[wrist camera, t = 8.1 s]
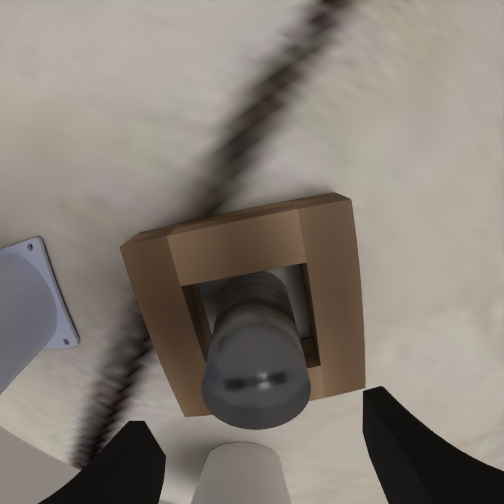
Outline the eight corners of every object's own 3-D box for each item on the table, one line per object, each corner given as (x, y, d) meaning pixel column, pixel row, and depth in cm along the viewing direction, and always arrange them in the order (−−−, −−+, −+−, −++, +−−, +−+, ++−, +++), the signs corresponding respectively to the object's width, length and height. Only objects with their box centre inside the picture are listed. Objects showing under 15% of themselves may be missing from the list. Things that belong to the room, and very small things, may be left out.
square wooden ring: (192, 387, 20) (185, 416, 17) (139, 232, 17) (119, 246, 14) (352, 360, 20) (365, 387, 17) (335, 192, 17) (351, 199, 14)
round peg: (230, 338, 19) (219, 435, 11) (212, 278, 18) (186, 361, 10) (295, 324, 19) (317, 418, 11) (281, 263, 18) (301, 339, 10)
